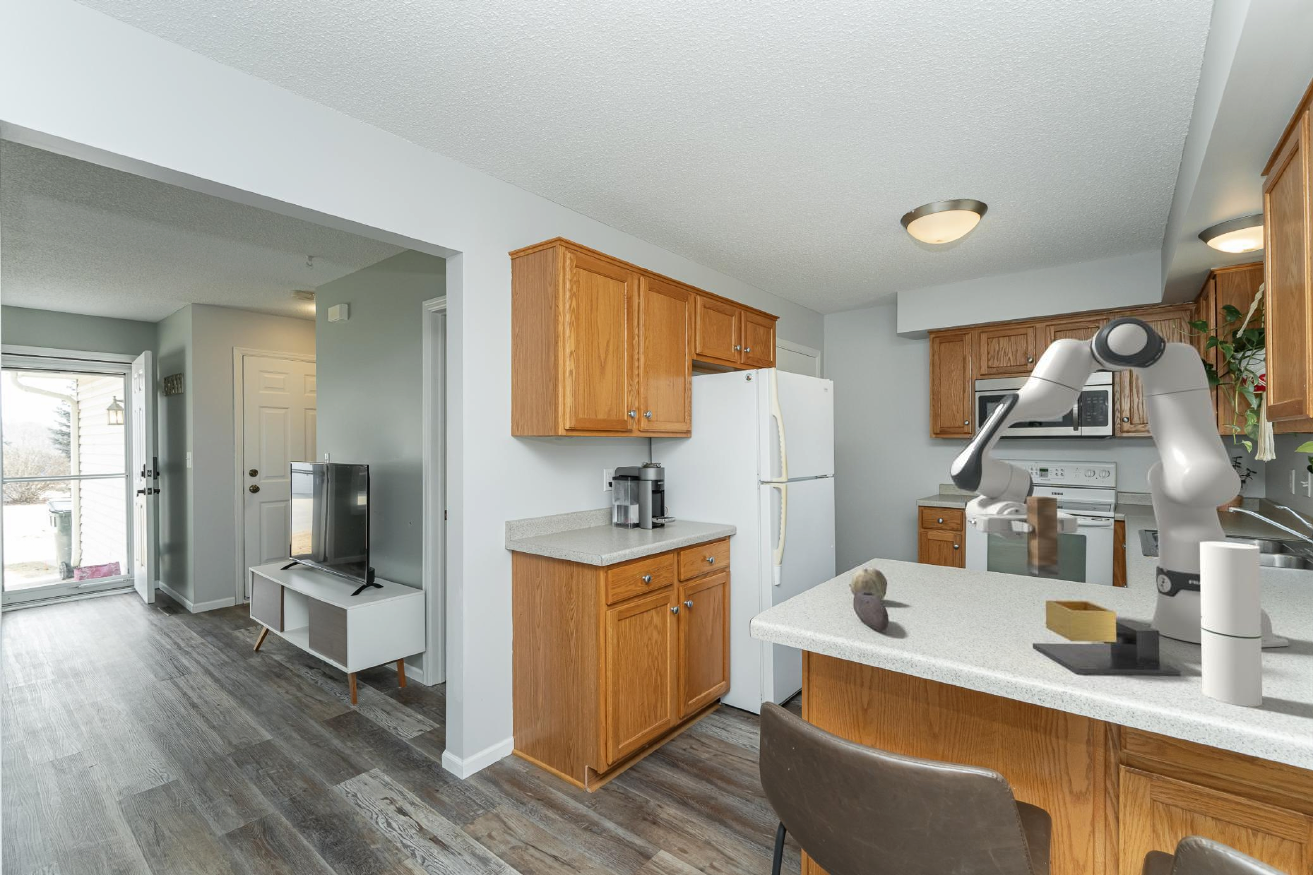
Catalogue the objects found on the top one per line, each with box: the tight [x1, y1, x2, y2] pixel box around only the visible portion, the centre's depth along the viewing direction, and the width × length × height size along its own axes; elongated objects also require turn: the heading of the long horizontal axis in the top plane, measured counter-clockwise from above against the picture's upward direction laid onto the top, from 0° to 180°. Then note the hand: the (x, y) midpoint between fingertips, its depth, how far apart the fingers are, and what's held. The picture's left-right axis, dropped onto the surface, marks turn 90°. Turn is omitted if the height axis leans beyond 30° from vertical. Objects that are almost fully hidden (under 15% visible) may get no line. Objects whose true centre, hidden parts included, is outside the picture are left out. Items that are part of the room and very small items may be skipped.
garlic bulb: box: [848, 567, 888, 601], centre depth 160 cm, size 9×8×10 cm
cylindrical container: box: [1200, 541, 1263, 708], centre depth 99 cm, size 7×7×25 cm
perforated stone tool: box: [853, 590, 889, 632], centre depth 139 cm, size 15×5×7 cm, turn 178°
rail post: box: [1026, 496, 1059, 576], centre depth 128 cm, size 4×4×16 cm
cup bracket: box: [1032, 600, 1182, 677], centre depth 115 cm, size 18×14×10 cm
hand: (1044, 528), depth 127 cm, fingers closed on rail post, 4 cm apart
